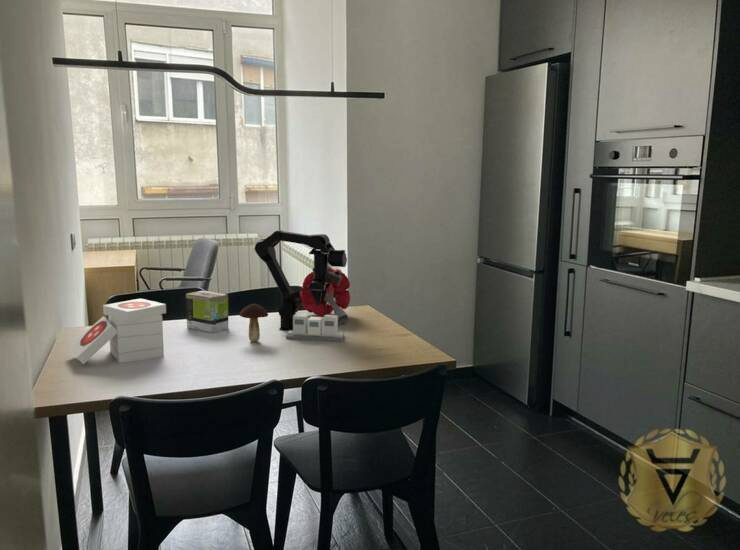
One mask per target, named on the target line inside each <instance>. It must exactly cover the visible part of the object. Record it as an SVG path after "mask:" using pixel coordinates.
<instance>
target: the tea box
mask: <svg viewBox="0 0 740 550" xmlns="http://www.w3.org/2000/svg"><path fill="white" fill-rule="evenodd" d="M228 295H229V294H228V293H223V292H222V293H221V292H216V291H215V292H214V291H209V290H199V291H192V292H188V293H186V294H185V306H186V307H185V310H186V311H185V312H186V313H185V314H186V328H189V329H193V330H198V331H202V332H208V333H212V334H213V333H216V332H219V331H220V332H221V331H223V330H224V331H225V330H226V329H229V296H228Z"/></svg>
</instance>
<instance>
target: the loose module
mask: <svg viewBox="0 0 740 550" xmlns="http://www.w3.org/2000/svg"><path fill="white" fill-rule="evenodd" d="M322 332H323V317H320V316H310V317H308V334H311V335H321V333H322Z"/></svg>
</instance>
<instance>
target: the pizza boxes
mask: <svg viewBox="0 0 740 550" xmlns="http://www.w3.org/2000/svg"><path fill="white" fill-rule="evenodd" d="M102 309H103V310H102V311H103V316H102V317H100V318H99V319H98V320H97V321H96V322H95V323H94V324H93V325H91V326H90V327H89V328H88V329H87V330H86V331H85V332H84V333H83V334H81V336H80V337H78V338H77V339H76V340H75V341H74V342H73V343H71V344H70V346H69V349H70V350H71V352H72V353H73V355H74V357H75V359H77V360H78V361H79V362H81V364H83V365H85V364H86V363H87V361H88V360H90V359H91V358H92V357H93V356H94V355H95V354H96V353H97V352H98V351H100V349H102V348H103V347H104V346H105V345H106V344H107V343H108V342H109V351H110V353H111V354H112V355H113V357H114V358H115V360H116V361H117V362H118V364H120V363H121V364H122V363H128V362H136V361H141V360H148V359H153V358H154V359H155V358H161V357H164V355H165V353H164V352H165V351H164V349H165V348H164V334H163V333H164V332H163V331H164V330H163V329H164V328H163V314H167V304H166V303H163V302H162V303H161V302H158V301H154V300H148V299H146V298H136V299H130V300H125V301H119V302H113V303H112V302H111V303H108V304H102ZM104 315H106V316H108V317H107V318H108V319H107V318H106V317H105V316H104Z"/></svg>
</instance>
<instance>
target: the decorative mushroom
mask: <svg viewBox="0 0 740 550" xmlns="http://www.w3.org/2000/svg"><path fill="white" fill-rule="evenodd" d="M238 316H240V317H242V318H245V319H249V324H248V339H249V341H250V342H253V343H256V342H258V341H259V340H260V337H261V335H260V322H259V318H267V317H268V316H269V314H268V311H267V310H266V309H265V308H264V307H263V306H261V305H260V304H258V303H251V304H248V305H247V306H245V307H243V308H242V309H241V310H240V312H239V314H238Z"/></svg>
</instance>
